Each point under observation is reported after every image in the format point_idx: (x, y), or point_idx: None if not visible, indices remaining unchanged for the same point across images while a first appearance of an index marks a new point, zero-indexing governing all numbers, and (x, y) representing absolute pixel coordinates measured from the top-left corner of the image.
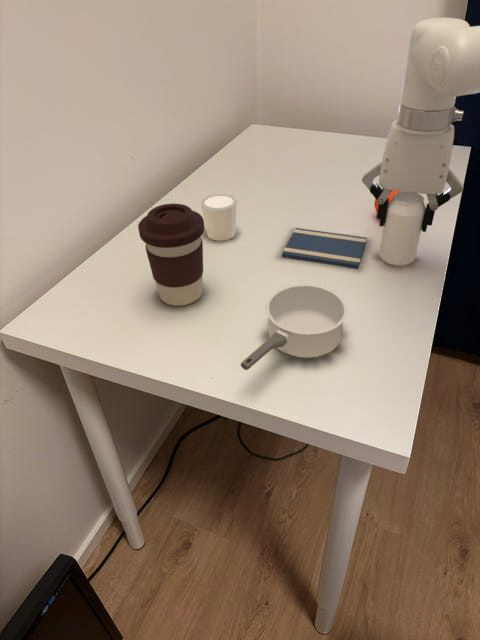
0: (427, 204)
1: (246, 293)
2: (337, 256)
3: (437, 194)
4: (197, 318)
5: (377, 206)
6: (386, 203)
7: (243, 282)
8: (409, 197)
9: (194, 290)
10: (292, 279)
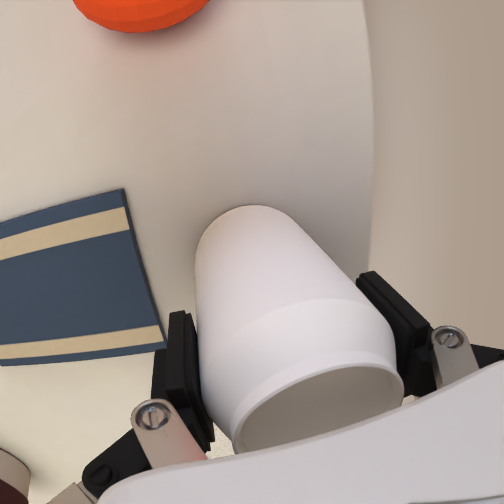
0: (408, 345)
1: (54, 451)
2: (99, 339)
3: (473, 361)
4: (57, 485)
5: (90, 19)
6: (203, 430)
7: (28, 434)
8: (328, 411)
9: (27, 487)
10: (75, 414)
